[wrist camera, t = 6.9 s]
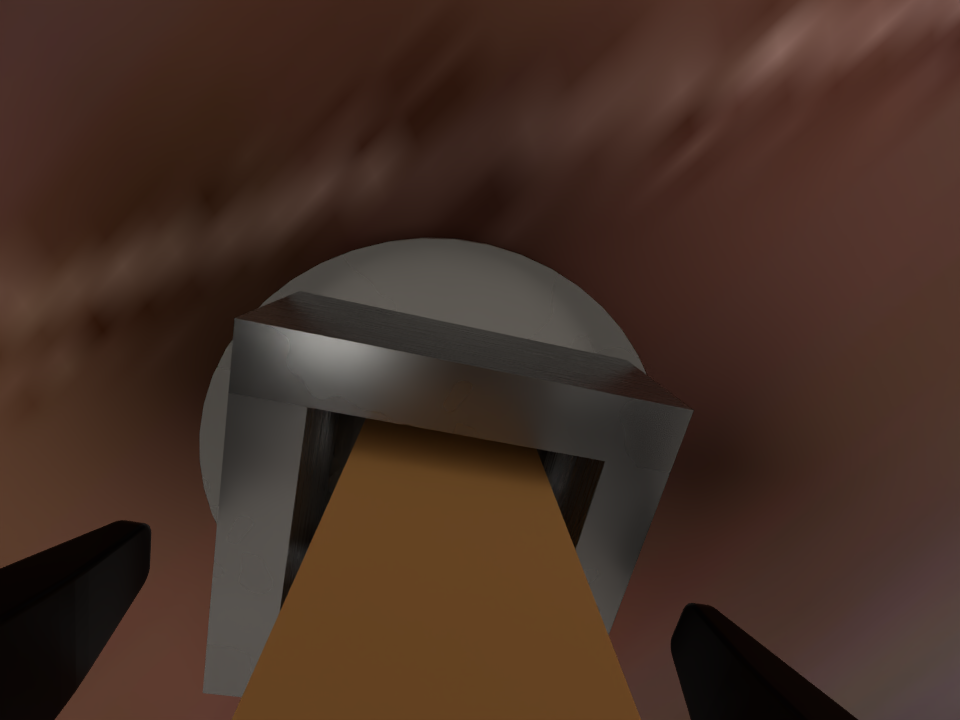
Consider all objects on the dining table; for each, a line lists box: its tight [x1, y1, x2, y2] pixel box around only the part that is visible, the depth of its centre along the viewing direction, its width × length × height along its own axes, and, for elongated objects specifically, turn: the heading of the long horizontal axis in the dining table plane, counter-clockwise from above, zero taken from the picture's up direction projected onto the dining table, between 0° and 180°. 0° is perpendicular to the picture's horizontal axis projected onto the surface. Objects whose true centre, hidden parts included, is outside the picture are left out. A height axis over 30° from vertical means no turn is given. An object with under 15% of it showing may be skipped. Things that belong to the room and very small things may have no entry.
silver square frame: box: [200, 237, 694, 697], centre depth 10 cm, size 11×11×4 cm
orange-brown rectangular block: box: [232, 418, 641, 720], centre depth 7 cm, size 4×4×8 cm
